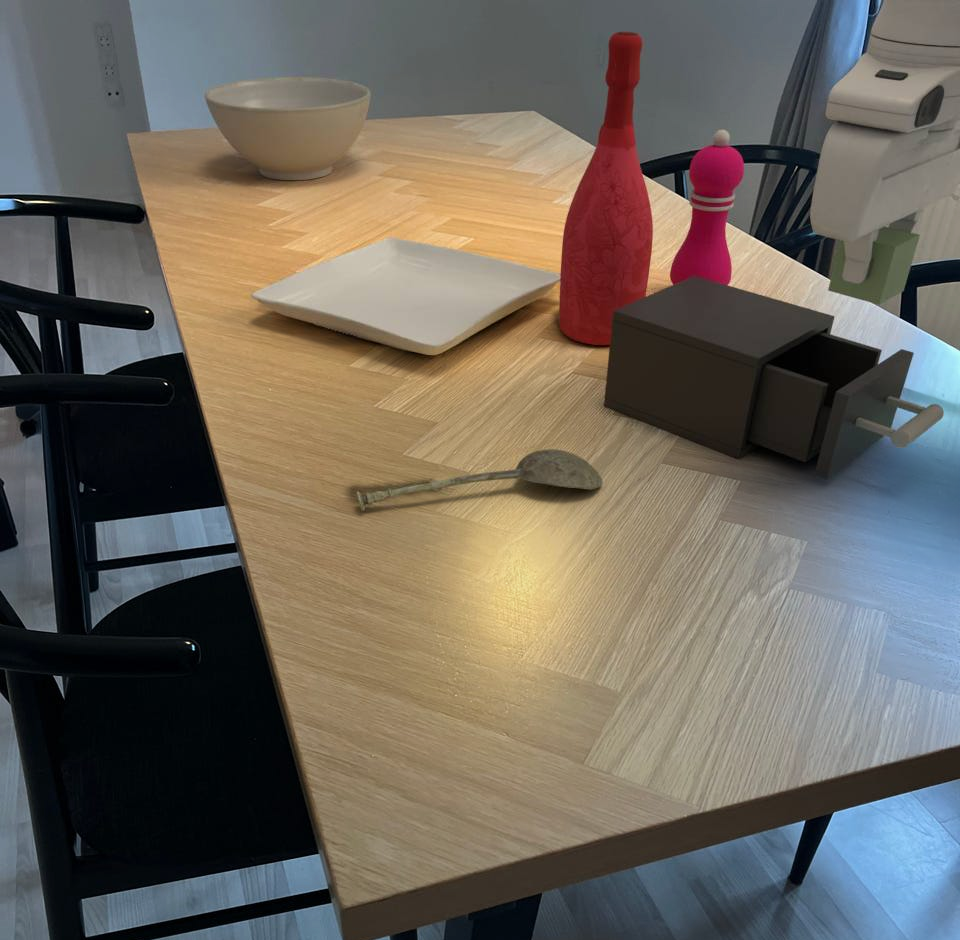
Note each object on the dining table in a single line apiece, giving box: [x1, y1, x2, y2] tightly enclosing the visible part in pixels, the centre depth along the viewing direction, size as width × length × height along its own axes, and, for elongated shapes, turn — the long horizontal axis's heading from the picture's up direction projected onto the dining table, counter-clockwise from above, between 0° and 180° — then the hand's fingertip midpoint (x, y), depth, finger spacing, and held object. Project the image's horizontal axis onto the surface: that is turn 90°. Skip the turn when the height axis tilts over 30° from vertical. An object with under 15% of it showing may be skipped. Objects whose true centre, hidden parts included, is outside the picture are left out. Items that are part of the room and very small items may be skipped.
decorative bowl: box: [204, 76, 372, 181], centre depth 164 cm, size 27×27×12 cm
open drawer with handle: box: [747, 332, 945, 480], centre depth 90 cm, size 20×13×8 cm, turn 47°
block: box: [827, 226, 921, 306], centre depth 81 cm, size 5×5×5 cm
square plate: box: [250, 237, 561, 356], centre depth 117 cm, size 27×27×4 cm
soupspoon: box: [356, 448, 603, 512], centre depth 85 cm, size 22×3×7 cm
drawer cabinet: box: [603, 276, 835, 460], centre depth 96 cm, size 16×14×10 cm
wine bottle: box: [558, 31, 654, 346], centre depth 104 cm, size 10×10×30 cm
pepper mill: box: [669, 129, 745, 286], centre depth 113 cm, size 7×7×20 cm
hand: (871, 272), depth 81 cm, fingers closed on block, 4 cm apart
